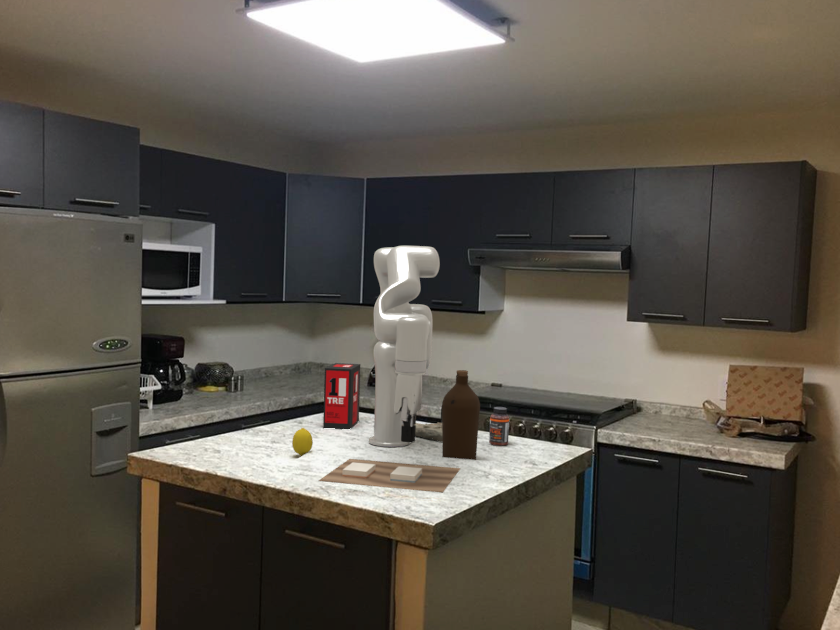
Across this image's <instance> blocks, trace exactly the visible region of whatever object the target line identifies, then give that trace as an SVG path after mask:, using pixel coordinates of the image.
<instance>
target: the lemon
mask: <svg viewBox="0 0 840 630" xmlns="http://www.w3.org/2000/svg"><path fill="white" fill-rule="evenodd" d="M313 440H314V439H313V437H312V433H311V431H309V430H308V429H306V428H304V427H301V428H300V429H297V431H295V433H294V434H293V437H292V440H291V441H292V448H293V450H294V452H295V453H296V454H298V455H299V456H300V457H303V456H304V455H307V454H308V453H310V451H311V450H312V448H313V443H314V442H313Z"/></svg>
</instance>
